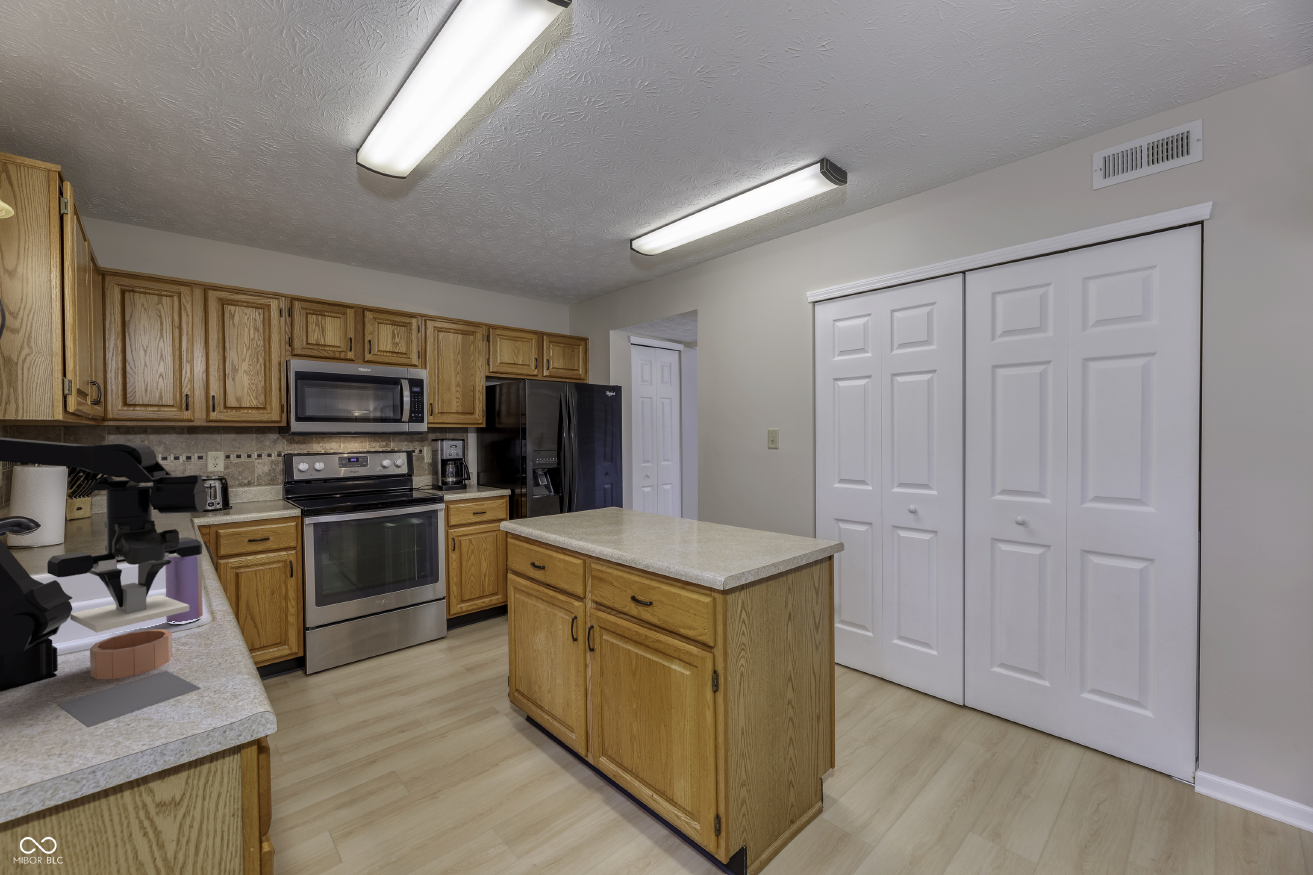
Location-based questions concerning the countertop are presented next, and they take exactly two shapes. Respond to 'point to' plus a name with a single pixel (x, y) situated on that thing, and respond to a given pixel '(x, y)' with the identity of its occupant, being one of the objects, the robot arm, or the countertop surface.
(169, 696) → the mat
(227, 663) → the countertop surface
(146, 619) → the cover sheet
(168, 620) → the beverage can
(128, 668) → the bowl
